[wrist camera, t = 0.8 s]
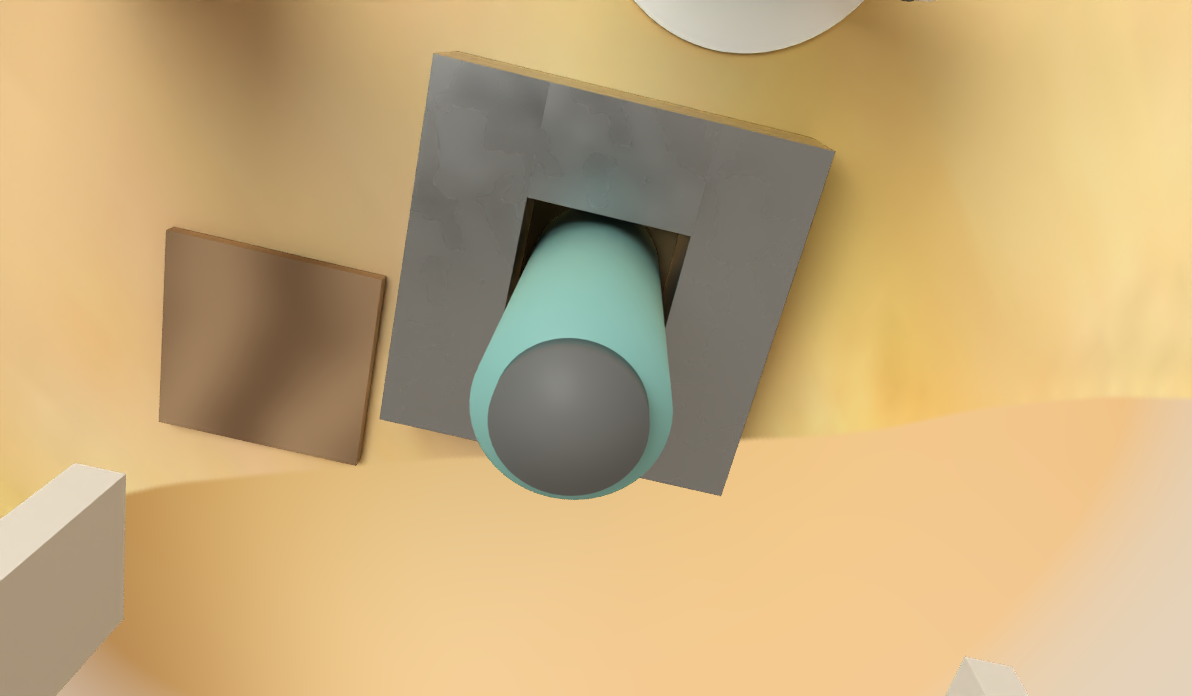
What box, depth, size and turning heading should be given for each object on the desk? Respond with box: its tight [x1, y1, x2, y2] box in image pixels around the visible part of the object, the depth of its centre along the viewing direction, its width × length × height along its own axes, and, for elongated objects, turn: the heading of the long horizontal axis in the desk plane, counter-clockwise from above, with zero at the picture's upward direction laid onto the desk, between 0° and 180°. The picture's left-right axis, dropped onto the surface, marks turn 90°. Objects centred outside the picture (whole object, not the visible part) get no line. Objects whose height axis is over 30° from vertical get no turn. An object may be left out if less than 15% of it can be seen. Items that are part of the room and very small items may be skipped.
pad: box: [159, 227, 386, 466], centre depth 36 cm, size 9×9×1 cm
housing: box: [380, 51, 835, 496], centre depth 32 cm, size 14×14×4 cm
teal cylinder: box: [469, 208, 673, 500], centre depth 27 cm, size 5×5×15 cm
